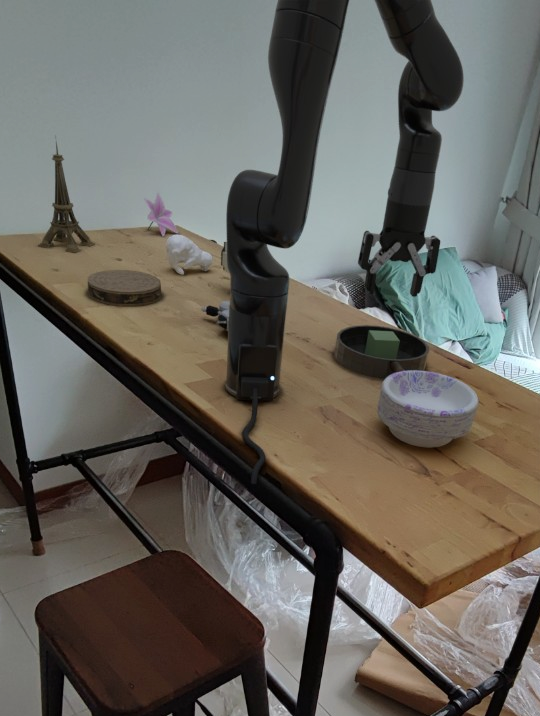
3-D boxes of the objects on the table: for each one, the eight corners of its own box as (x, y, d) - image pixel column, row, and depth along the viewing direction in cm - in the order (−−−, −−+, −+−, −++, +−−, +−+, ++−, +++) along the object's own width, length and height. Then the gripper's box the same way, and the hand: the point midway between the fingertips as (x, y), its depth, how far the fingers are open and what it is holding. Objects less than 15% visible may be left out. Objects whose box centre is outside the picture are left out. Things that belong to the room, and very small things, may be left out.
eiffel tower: (94, 244, 175) (86, 136, 160) (75, 252, 167) (64, 140, 151) (58, 238, 176) (47, 130, 161) (38, 246, 168) (23, 134, 153)
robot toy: (197, 321, 138) (226, 342, 127) (197, 299, 136) (226, 319, 125) (249, 317, 143) (280, 337, 133) (250, 296, 141) (282, 314, 130)
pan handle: (412, 390, 114) (414, 380, 113) (401, 390, 113) (403, 379, 112) (398, 370, 121) (400, 359, 120) (387, 369, 120) (390, 359, 119)
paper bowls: (404, 463, 97) (415, 415, 92) (357, 417, 108) (365, 372, 103) (485, 451, 103) (499, 406, 98) (433, 409, 113) (444, 366, 109)
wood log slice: (110, 310, 136) (109, 295, 134) (75, 287, 145) (74, 274, 143) (174, 300, 145) (174, 286, 143) (138, 280, 154) (137, 267, 152)
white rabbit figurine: (164, 231, 158) (209, 235, 164) (161, 267, 163) (206, 270, 169) (172, 237, 154) (219, 242, 160) (169, 274, 159) (215, 277, 165)
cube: (394, 365, 127) (399, 340, 124) (370, 364, 126) (375, 339, 123) (388, 355, 131) (392, 331, 128) (364, 354, 130) (368, 330, 127)
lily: (141, 240, 187) (155, 211, 181) (126, 214, 191) (140, 185, 185) (175, 251, 195) (189, 223, 190) (160, 225, 199) (174, 198, 194)
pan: (436, 382, 123) (441, 362, 121) (344, 378, 120) (348, 358, 118) (409, 346, 137) (413, 327, 135) (326, 342, 134) (328, 323, 132)
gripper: (375, 200, 107) (359, 299, 117) (455, 206, 109) (433, 302, 119) (364, 191, 113) (350, 286, 123) (441, 197, 115) (421, 289, 125)
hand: (391, 294), depth 121 cm, fingers open, 8 cm apart
